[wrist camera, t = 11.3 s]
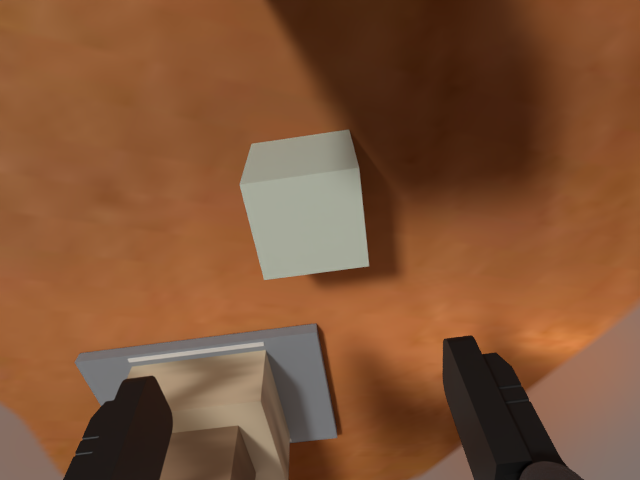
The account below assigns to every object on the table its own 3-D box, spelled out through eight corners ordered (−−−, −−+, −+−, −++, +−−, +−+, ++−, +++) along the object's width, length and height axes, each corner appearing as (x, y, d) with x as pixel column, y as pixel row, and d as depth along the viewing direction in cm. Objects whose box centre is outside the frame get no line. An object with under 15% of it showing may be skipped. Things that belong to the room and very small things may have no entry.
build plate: (316, 323, 29) (316, 332, 29) (336, 428, 35) (337, 438, 34) (79, 353, 30) (74, 363, 29) (137, 451, 36) (134, 461, 35)
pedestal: (265, 350, 29) (260, 400, 26) (289, 434, 34) (288, 487, 31) (131, 366, 30) (109, 418, 26) (174, 448, 34) (159, 501, 31)
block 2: (349, 129, 23) (358, 167, 18) (358, 215, 25) (369, 266, 21) (251, 143, 23) (239, 184, 19) (271, 227, 26) (264, 280, 21)
